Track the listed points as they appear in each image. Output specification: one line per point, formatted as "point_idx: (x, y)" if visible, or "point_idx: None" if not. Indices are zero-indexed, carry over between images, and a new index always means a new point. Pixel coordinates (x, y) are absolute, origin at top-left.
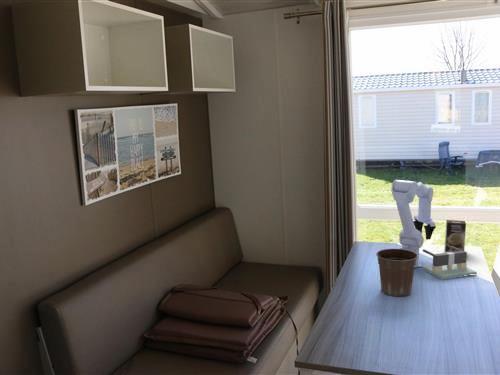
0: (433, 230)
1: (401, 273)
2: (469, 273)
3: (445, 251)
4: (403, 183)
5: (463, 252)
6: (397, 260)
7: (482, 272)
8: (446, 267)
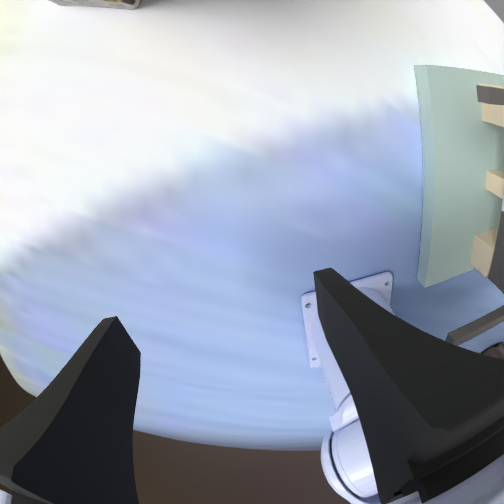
0: (439, 343)
1: None
2: None
3: (132, 5)
4: None
5: None
6: None
7: (500, 29)
8: (476, 180)
